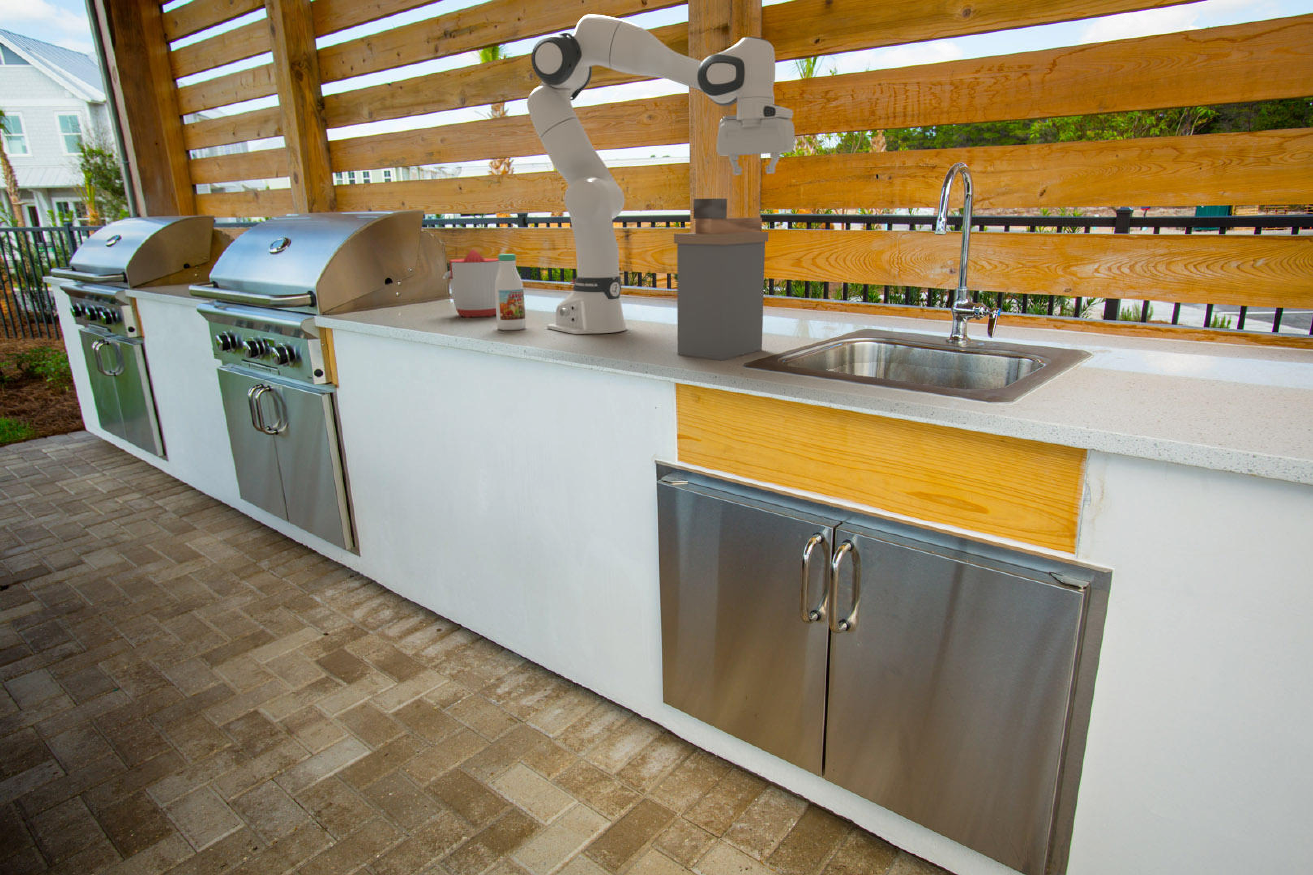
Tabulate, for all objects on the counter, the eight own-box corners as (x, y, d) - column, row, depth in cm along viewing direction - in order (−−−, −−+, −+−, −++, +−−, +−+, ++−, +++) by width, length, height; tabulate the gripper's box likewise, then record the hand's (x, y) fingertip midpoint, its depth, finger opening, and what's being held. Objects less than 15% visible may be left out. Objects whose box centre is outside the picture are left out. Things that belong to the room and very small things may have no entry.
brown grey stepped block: (693, 233, 161) (693, 199, 159) (744, 231, 176) (745, 199, 174) (712, 234, 158) (713, 198, 156) (763, 231, 173) (764, 199, 171)
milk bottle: (491, 330, 208) (486, 254, 203) (507, 326, 215) (502, 253, 210) (516, 331, 206) (511, 255, 200) (531, 327, 212) (526, 253, 207)
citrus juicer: (445, 313, 243) (439, 249, 237) (500, 311, 248) (496, 247, 242) (447, 320, 228) (441, 251, 223) (506, 317, 233) (502, 250, 228)
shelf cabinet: (674, 354, 170) (674, 233, 163) (717, 344, 183) (719, 231, 175) (722, 361, 162) (724, 234, 155) (764, 349, 175) (768, 232, 167)
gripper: (711, 115, 186) (711, 175, 190) (785, 108, 174) (783, 172, 178) (726, 117, 191) (725, 176, 195) (799, 110, 179) (796, 173, 183)
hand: (753, 174), depth 186 cm, fingers open, 8 cm apart
